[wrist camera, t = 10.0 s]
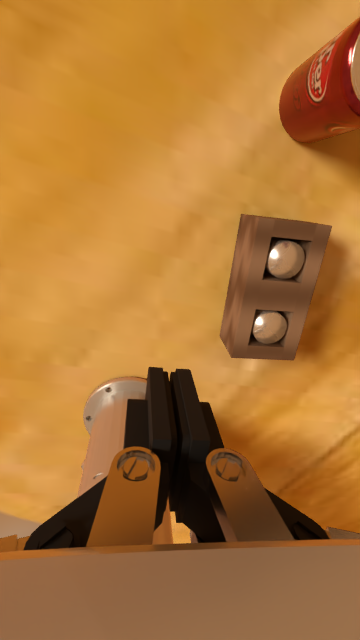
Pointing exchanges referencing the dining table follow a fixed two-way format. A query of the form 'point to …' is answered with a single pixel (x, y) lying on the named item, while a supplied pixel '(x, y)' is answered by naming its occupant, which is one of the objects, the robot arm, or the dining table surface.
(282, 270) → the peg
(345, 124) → the soda can
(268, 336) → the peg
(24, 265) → the dining table surface
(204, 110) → the dining table surface
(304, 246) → the walnut block
